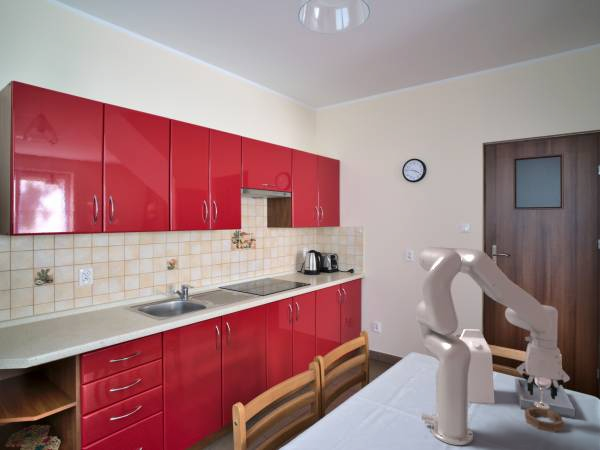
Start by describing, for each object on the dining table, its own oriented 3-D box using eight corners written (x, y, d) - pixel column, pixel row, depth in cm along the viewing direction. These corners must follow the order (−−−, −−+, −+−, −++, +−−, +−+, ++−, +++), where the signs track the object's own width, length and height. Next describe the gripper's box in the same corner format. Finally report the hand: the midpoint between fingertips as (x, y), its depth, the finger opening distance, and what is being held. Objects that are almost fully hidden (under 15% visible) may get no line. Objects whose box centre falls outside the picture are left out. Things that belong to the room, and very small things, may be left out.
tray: (520, 409, 133) (520, 399, 133) (514, 386, 151) (514, 377, 151) (574, 419, 126) (574, 409, 126) (561, 394, 144) (561, 385, 144)
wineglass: (542, 410, 120) (543, 374, 120) (527, 402, 126) (528, 367, 126) (556, 408, 122) (557, 372, 122) (540, 400, 127) (541, 366, 127)
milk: (482, 389, 148) (482, 325, 148) (494, 403, 137) (494, 334, 137) (451, 388, 150) (451, 325, 149) (461, 402, 138) (461, 334, 138)
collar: (527, 426, 121) (527, 419, 121) (523, 411, 131) (523, 405, 131) (565, 434, 117) (565, 427, 117) (558, 418, 126) (558, 411, 126)
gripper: (515, 341, 124) (513, 394, 124) (577, 350, 116) (575, 406, 117) (513, 335, 131) (511, 385, 131) (571, 343, 123) (570, 396, 123)
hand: (541, 395), depth 124 cm, fingers closed on wineglass, 5 cm apart
